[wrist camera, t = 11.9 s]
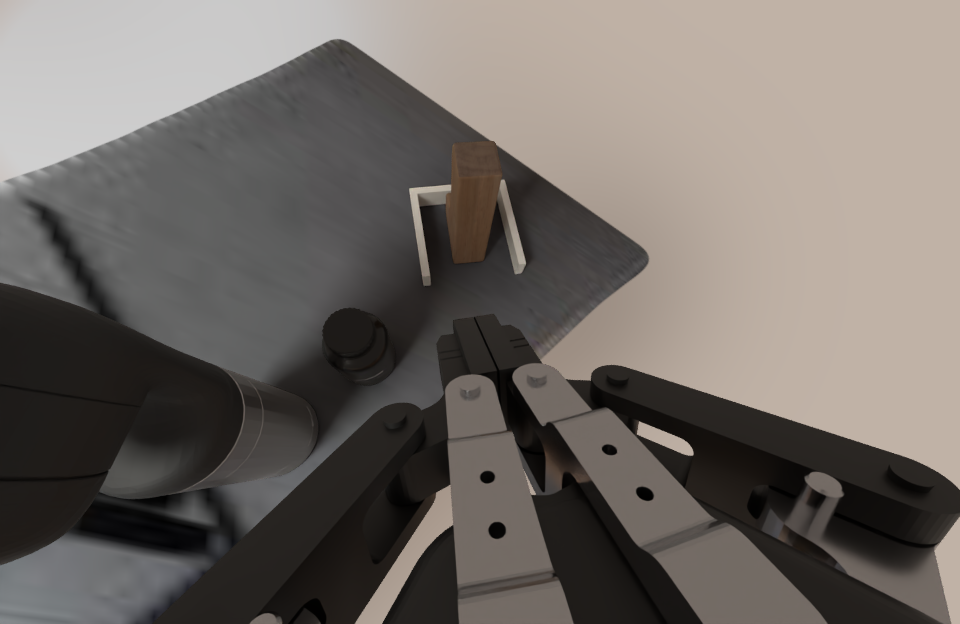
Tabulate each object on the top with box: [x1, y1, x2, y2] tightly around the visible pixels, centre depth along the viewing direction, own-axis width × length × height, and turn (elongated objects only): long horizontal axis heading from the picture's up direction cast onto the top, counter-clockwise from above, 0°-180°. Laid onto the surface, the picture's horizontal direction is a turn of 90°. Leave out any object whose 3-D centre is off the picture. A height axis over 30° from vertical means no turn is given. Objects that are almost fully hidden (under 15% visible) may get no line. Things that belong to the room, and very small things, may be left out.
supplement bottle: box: [322, 308, 396, 386], centre depth 41 cm, size 7×7×12 cm
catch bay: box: [409, 180, 526, 286], centre depth 52 cm, size 14×14×3 cm
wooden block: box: [446, 141, 502, 264], centre depth 45 cm, size 9×4×18 cm, turn 9°
